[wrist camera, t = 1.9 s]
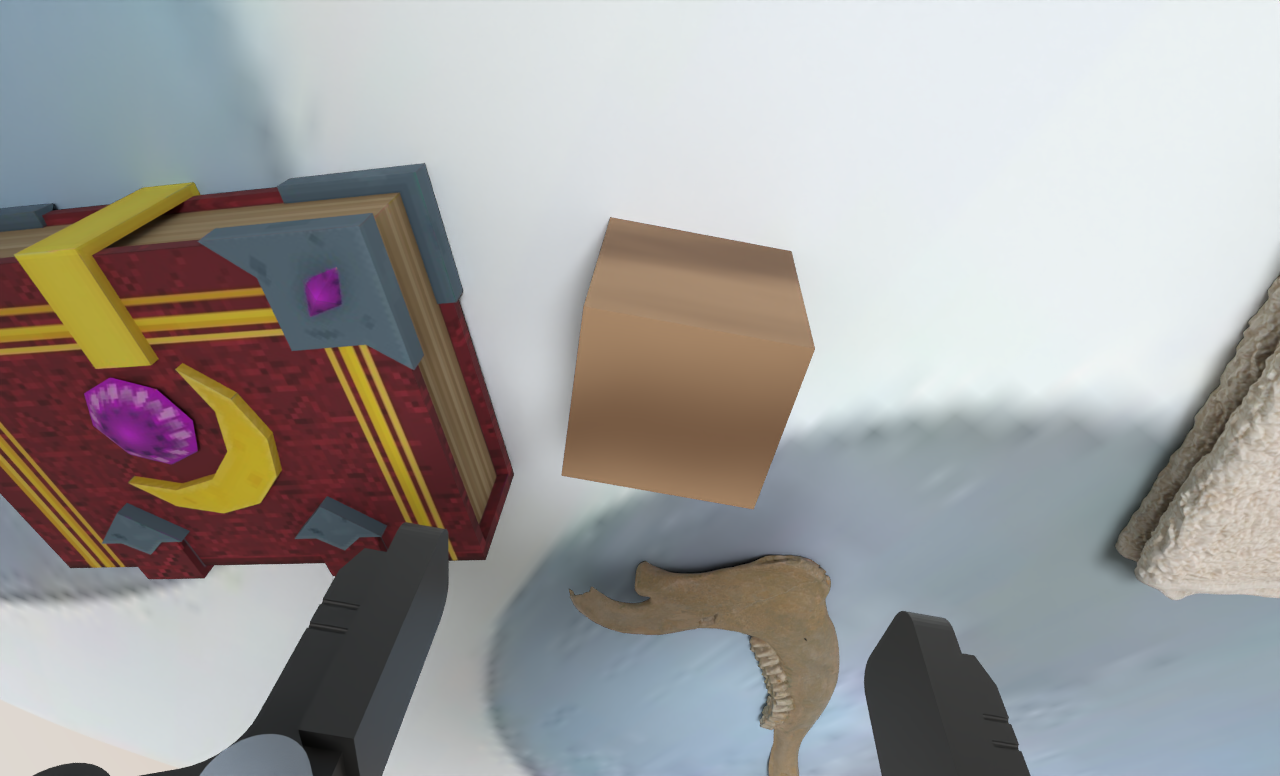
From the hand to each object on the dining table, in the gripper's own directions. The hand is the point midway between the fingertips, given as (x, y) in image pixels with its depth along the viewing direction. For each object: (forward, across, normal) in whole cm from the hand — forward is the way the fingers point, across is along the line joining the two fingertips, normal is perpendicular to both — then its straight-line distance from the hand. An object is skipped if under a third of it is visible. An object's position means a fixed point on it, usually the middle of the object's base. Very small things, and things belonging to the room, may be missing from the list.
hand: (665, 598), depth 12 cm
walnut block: (+10, 0, 0) cm, 10 cm away
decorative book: (+10, +14, +4) cm, 18 cm away
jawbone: (+11, -5, +19) cm, 22 cm away
